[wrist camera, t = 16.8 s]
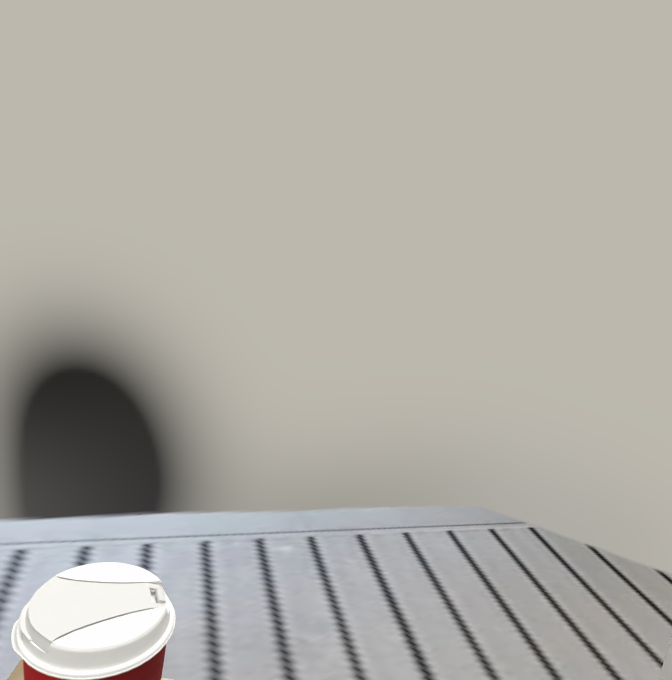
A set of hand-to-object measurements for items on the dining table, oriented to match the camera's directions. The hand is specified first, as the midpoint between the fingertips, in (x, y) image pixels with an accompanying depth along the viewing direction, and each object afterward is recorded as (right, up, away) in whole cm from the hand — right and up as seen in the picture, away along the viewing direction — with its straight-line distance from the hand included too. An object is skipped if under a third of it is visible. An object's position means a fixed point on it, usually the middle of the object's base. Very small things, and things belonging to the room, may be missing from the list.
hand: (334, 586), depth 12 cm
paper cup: (-14, -22, +24) cm, 35 cm away
